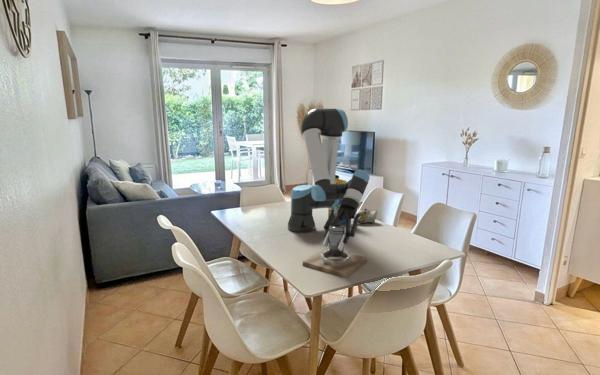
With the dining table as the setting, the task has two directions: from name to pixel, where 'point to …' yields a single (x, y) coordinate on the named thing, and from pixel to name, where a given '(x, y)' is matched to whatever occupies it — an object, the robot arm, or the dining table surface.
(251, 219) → the dining table surface
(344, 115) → the robot arm
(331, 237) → the cylinder
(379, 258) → the dining table surface
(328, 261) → the steel ring
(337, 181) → the blue food package
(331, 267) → the walnut board
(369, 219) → the ceramic sculpture
